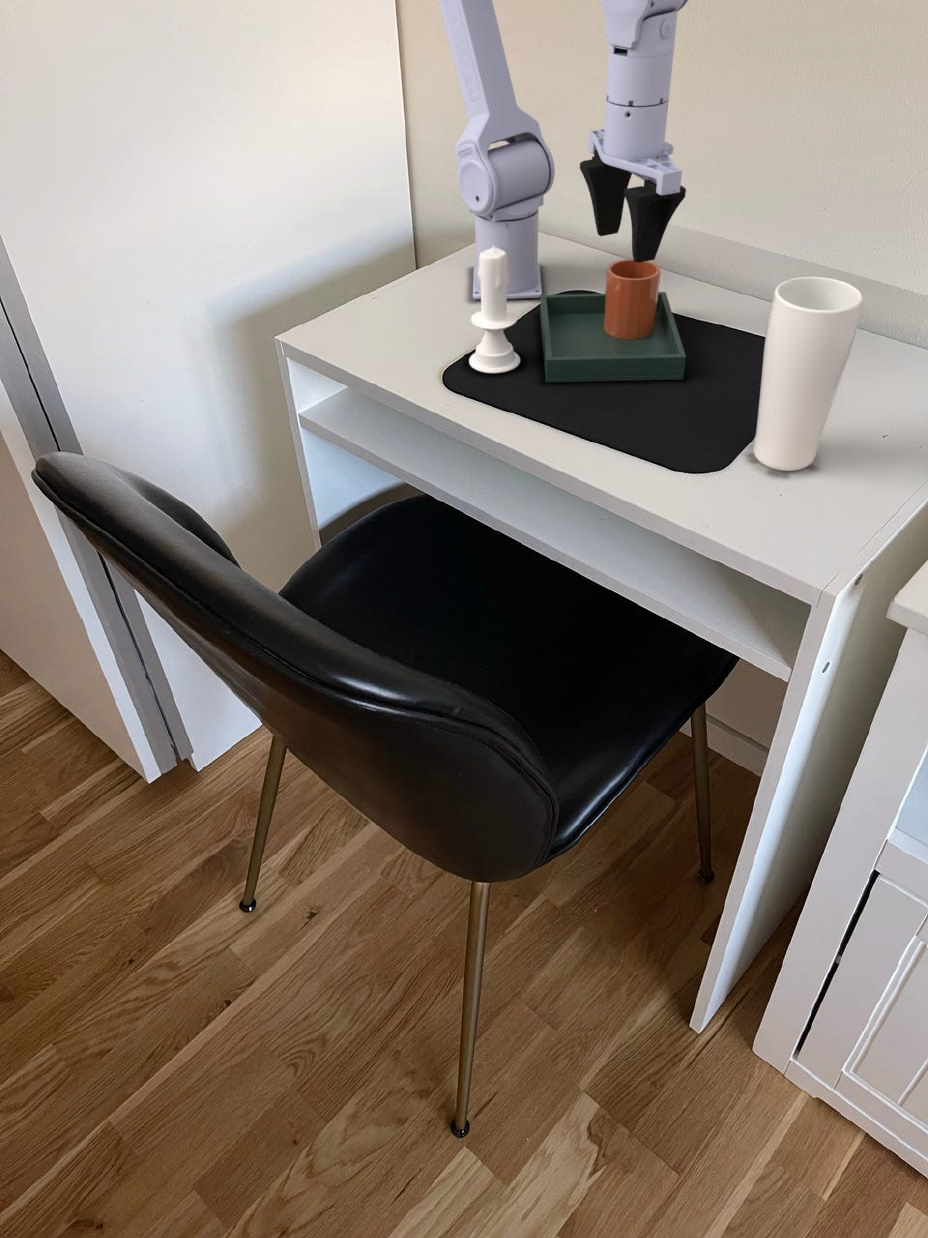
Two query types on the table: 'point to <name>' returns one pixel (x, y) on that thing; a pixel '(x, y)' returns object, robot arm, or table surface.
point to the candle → (494, 316)
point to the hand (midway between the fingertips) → (625, 246)
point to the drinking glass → (803, 367)
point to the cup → (631, 299)
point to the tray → (605, 343)
